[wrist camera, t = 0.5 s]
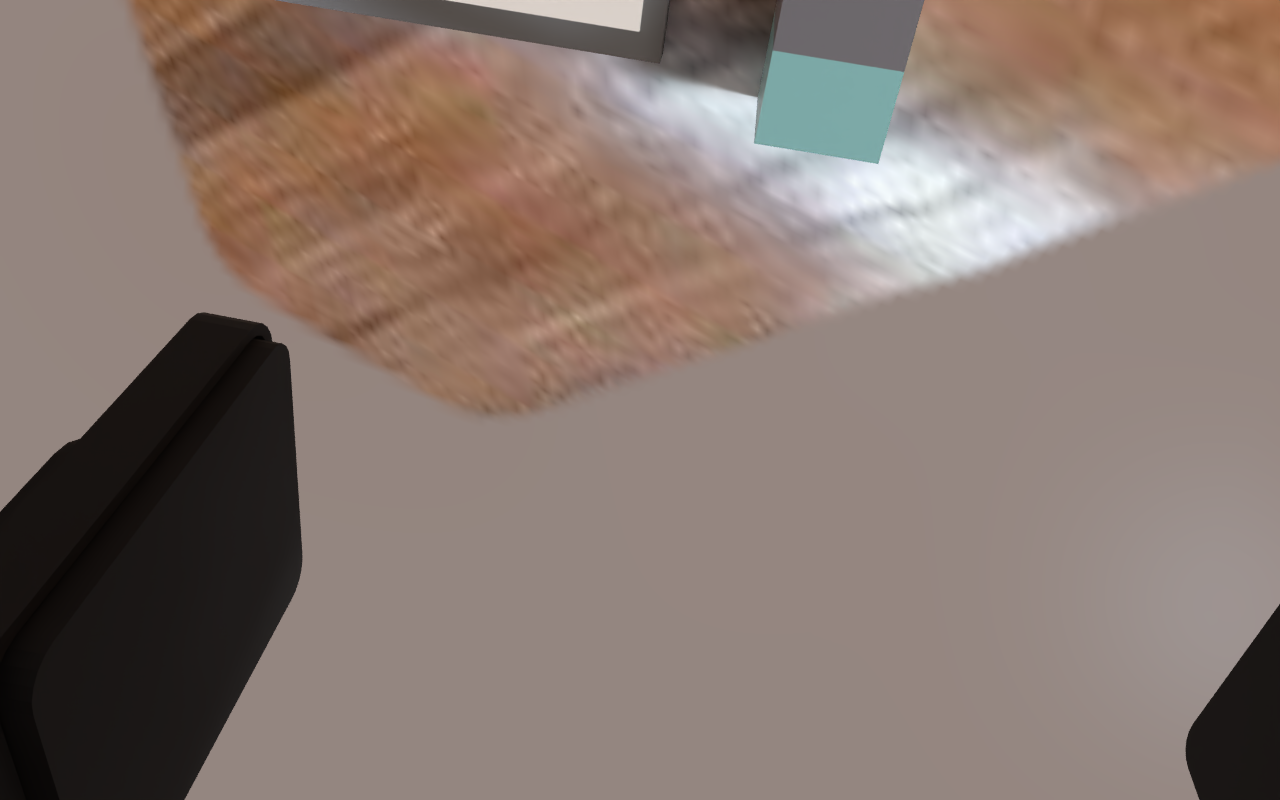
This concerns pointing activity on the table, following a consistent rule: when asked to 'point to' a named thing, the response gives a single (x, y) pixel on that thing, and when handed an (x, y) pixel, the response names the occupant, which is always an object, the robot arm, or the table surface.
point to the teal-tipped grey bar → (834, 75)
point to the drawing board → (535, 21)
